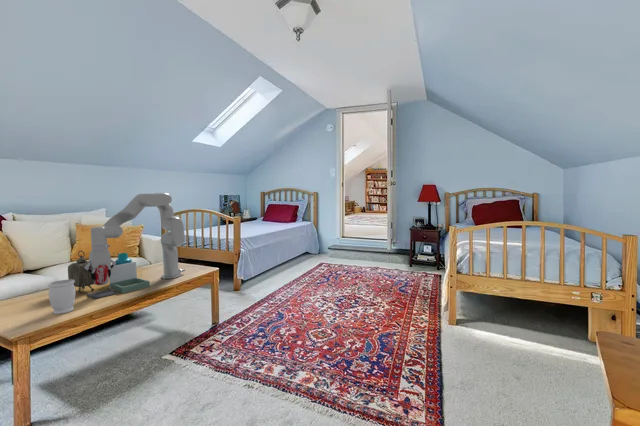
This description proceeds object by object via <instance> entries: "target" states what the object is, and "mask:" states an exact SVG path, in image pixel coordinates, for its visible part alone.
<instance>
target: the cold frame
mask: <svg viewBox="0 0 640 426" xmlns="http://www.w3.org/2000/svg"><path fill="white" fill-rule="evenodd" d="M108 283H109V289H111V290H113V291H116V292H118V293H121V294H125V293H129V292H133V291H137V290H142V289H146V288H149V287H151V284H150V280H147V279H144V278H139V277H138V274H137V261H132V263H126V264H121V265H116V266H114V267H113V268H112V269H111V275H110V277H109V281H108Z"/></svg>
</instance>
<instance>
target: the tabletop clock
mask: <svg viewBox="0 0 640 426" xmlns="http://www.w3.org/2000/svg"><path fill="white" fill-rule="evenodd" d="M80 253H82V254H83V255H82V254H80ZM77 255H78V257H79V258H78V259H77V260H76V262H72V263H71V264H69V265H68V266H67V273H68V274H67V278H68V279H67V280H75V282H74V283H73V284H74V286H75V288H78V289H77V292H78V293H81V292H82V290H81V289H84V290H85V288H86V287H88V288H90V291H91V292H94V291H95V288H94V287H91V286H92V285H95V284H94V280H92V279H91V273H90V272H89V271H87V270H86V269H85V268H84V267H85V266H86V265H87V264H88V263H89V260H87V258H85V257H86V256H85V252H84V251H83V250H78V252H77ZM88 268H89V269H91V268H90V267H88Z"/></svg>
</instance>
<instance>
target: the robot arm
mask: <svg viewBox="0 0 640 426" xmlns="http://www.w3.org/2000/svg"><path fill="white" fill-rule="evenodd" d="M172 199H173V198H172V196H171V195H170V194H169V193H167V192H154V193H138V194H136V195H135V196H134V197H133V198H132V200H131V201H130V202H128V203H127V205H125V207H123V208H122V210H120V211H118V212H117V213H115V214H114V215H112V216H111V217H110V218H109V219H108V220H107V221H106V222H105V223H104V224H103V225H102V226H93V227H91V228H90V240H91V243H90V244H91V250H90V251H89V255H88V261H89V263H88V264H87V265H86V266H85V267H84V268H85V269H86V270H87V271H89V272H90V273H91V279H92V280H96V276H95V273H94V272H95V268H97V267H98V266H99V265H103V264H105V265H107V266H108V277H110V275H111V269H112V268H113V267H114V265H115V264H116V262H115V261H116V260H115V261H114V260H113V259H112V258H111V253H110V249H109V248H110V247H111V246H110V244H108V239H117V238H119V237H121V236H122V235H123V233H124V230H123V228H122V227H121V226H122V225H123V224H125V223H126V222H129V221H132V220H135V219H136V218H137V217H138V215H140V213H142V211H143V210H144V209H145V208H151V207H153V208H154V207H156V208H157V209H158V212H159V217H160V225H161V228H162V229H163V230H164V231H167V232H164V233H163V234H162V235H161V237H160V243H161V248H162V262H163V263H162V264H163V266H162V267H163V274H162V275H161V279H165V280H169V279H175V278H180V277H181V276H182V272H183V273H184V272H186V269H185V268H179V252H178V248H177V247H181V246H183V244H184V243H185V228H184V226H185V225H184V222H183V220H182V219H181V218H180V217H175V214H174V208H173V206H172V204H171V203H172V201H173V200H172ZM168 231H169V232H168ZM88 267H90V268H91V269H89V268H88Z"/></svg>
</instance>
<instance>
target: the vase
mask: <svg viewBox="0 0 640 426" xmlns="http://www.w3.org/2000/svg"><path fill="white" fill-rule="evenodd" d="M115 262H116V264H115V265H114V266H116V265H121V264H126V263H132V262H133V260H132V259H131V258H129V255H128V252H119V253H118V254H117V259H116V260H115Z"/></svg>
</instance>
